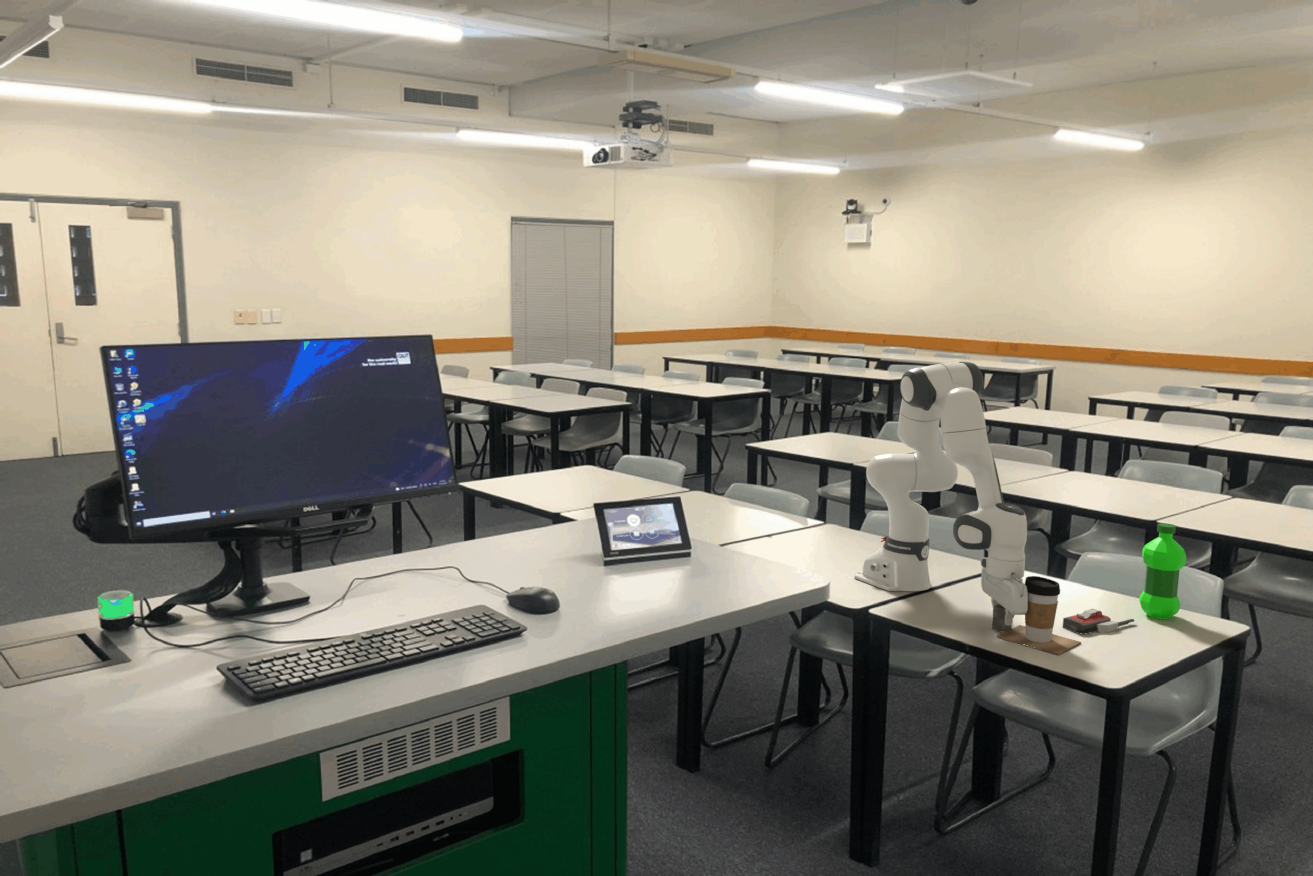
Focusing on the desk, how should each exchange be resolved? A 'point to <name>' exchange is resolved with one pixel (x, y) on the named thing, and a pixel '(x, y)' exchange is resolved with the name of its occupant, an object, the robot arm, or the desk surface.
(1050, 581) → the coffee cup
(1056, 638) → the walnut strip
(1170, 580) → the plastic bottle
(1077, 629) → the walkie-talkie
